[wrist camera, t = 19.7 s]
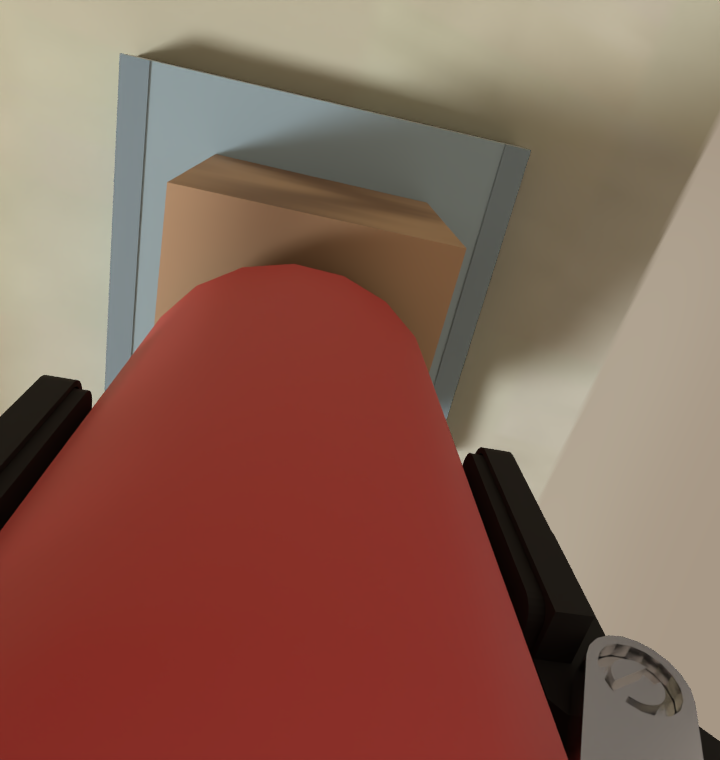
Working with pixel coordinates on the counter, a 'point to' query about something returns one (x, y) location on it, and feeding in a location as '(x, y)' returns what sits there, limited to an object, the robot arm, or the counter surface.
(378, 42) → the counter surface
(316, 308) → the beer can
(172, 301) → the wooden block
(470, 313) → the plate
